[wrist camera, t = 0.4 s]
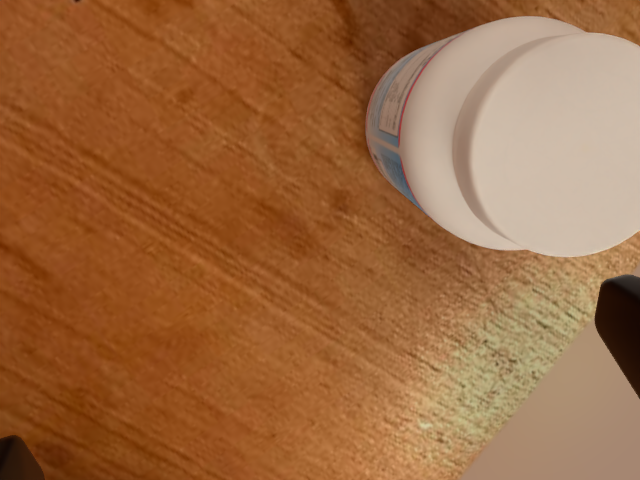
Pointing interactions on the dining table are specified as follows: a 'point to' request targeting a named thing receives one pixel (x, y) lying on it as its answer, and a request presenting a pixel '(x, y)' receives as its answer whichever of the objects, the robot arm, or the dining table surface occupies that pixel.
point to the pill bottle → (516, 135)
